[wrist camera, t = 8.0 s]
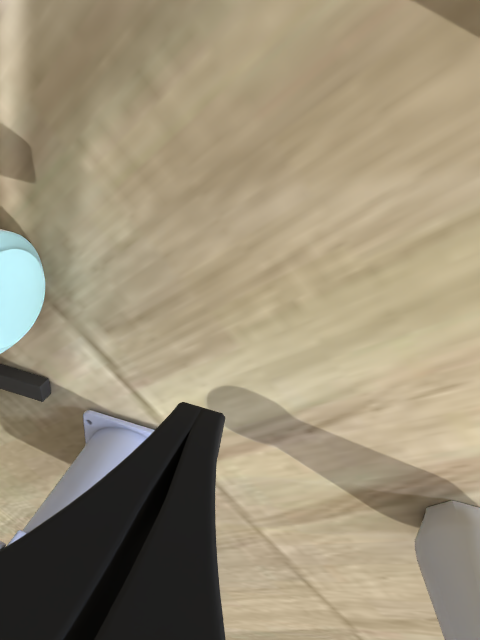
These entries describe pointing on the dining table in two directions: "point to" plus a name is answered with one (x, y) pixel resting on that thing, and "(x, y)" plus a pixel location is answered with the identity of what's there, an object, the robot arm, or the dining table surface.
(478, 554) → the salt shaker
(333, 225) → the dining table surface
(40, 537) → the robot arm
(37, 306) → the can
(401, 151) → the dining table surface
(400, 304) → the dining table surface
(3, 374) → the spatula
